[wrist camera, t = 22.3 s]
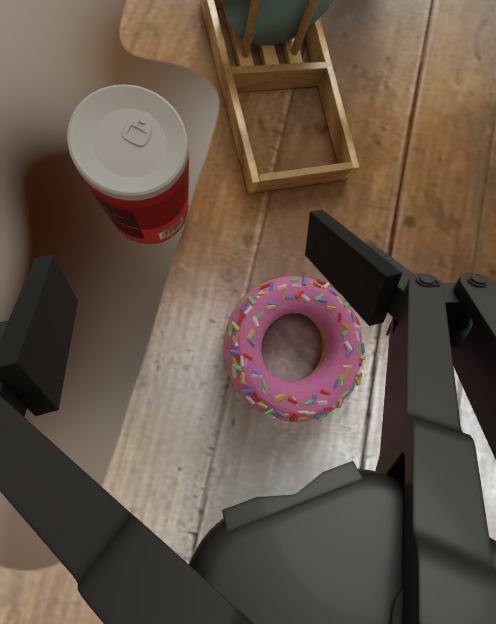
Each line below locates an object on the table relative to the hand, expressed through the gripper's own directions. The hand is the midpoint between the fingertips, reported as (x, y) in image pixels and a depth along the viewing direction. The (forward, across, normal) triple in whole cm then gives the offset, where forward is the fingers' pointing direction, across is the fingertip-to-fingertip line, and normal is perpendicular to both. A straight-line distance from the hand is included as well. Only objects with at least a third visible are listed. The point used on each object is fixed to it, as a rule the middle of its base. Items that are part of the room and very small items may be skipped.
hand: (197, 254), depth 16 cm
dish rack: (+26, +15, +4) cm, 30 cm away
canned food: (+18, -2, -4) cm, 18 cm away
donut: (+5, +8, -16) cm, 19 cm away
